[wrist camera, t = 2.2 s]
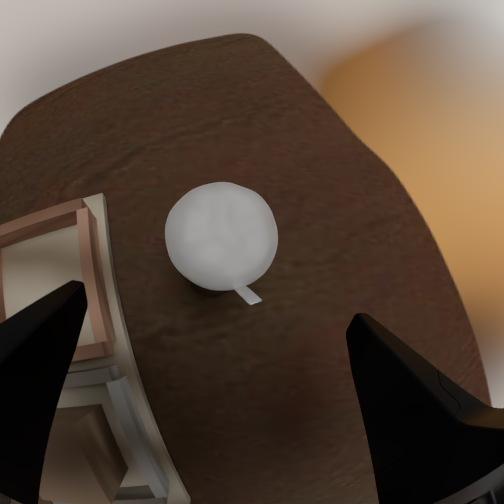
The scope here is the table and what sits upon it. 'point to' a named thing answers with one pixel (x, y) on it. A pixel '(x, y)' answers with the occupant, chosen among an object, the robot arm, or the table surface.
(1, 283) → the grey-brown divided tray
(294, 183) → the table surface
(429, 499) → the robot arm
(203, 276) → the milkshake
